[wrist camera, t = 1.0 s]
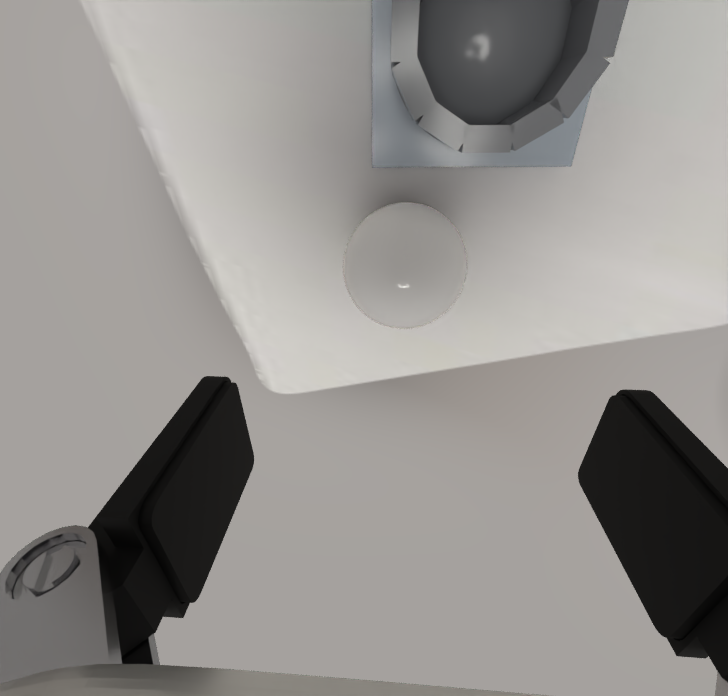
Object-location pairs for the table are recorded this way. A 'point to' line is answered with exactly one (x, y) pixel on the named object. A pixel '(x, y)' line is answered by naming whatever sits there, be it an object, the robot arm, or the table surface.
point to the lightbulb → (405, 265)
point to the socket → (486, 79)
